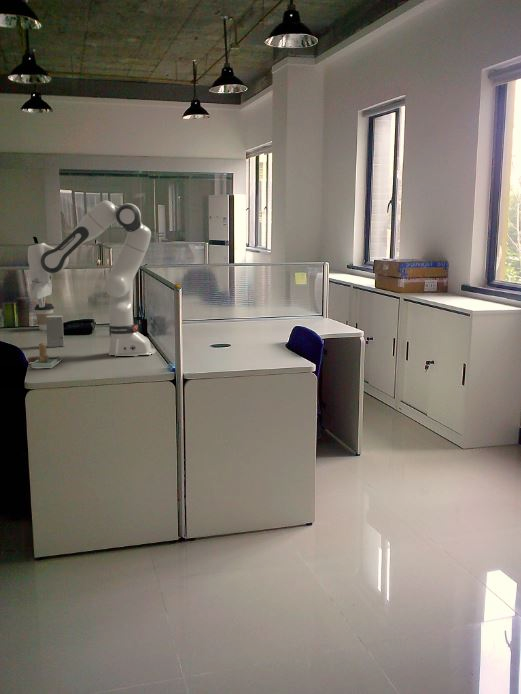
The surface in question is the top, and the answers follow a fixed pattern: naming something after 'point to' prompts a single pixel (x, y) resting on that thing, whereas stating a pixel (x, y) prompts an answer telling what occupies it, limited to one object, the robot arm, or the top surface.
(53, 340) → the skincare box
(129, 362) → the top surface
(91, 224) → the robot arm
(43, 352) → the dowel
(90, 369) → the top surface
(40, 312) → the coffee cup
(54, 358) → the socket
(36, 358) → the block
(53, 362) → the tray
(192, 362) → the top surface
